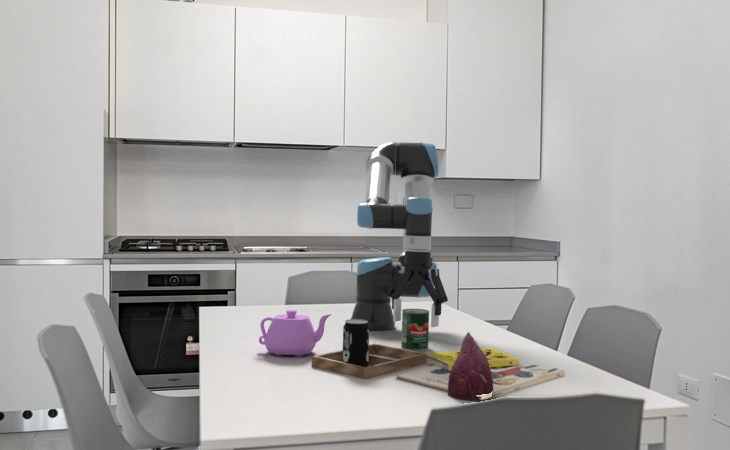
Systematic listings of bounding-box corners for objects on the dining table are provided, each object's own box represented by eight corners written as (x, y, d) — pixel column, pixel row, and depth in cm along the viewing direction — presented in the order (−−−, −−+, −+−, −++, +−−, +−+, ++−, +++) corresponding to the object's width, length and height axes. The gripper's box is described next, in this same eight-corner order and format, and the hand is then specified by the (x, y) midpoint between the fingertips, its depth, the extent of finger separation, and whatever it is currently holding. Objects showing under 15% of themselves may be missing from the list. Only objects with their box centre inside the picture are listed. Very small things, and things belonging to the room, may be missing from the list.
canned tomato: (413, 344, 214) (414, 307, 213) (433, 348, 208) (435, 311, 208) (395, 347, 208) (396, 309, 208) (415, 352, 202) (417, 313, 202)
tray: (311, 366, 181) (311, 356, 181) (374, 352, 200) (374, 343, 200) (365, 378, 170) (365, 368, 170) (426, 363, 189) (427, 353, 189)
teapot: (253, 357, 190) (254, 312, 190) (263, 347, 203) (264, 305, 203) (328, 360, 189) (329, 315, 188) (333, 349, 202) (334, 308, 202)
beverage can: (365, 372, 177) (366, 323, 176) (339, 370, 178) (340, 322, 177) (370, 366, 183) (371, 319, 183) (345, 364, 184) (346, 318, 184)
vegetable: (445, 403, 163) (435, 337, 166) (489, 397, 163) (479, 331, 167) (453, 404, 152) (443, 334, 155) (500, 398, 153) (489, 328, 156)
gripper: (376, 248, 212) (374, 319, 213) (446, 253, 196) (444, 330, 196) (392, 248, 218) (389, 317, 218) (461, 252, 202) (458, 327, 202)
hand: (415, 323), depth 207 cm, fingers open, 13 cm apart
